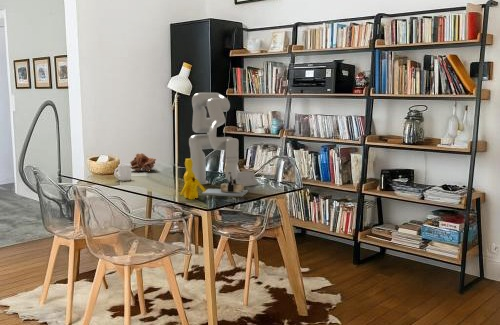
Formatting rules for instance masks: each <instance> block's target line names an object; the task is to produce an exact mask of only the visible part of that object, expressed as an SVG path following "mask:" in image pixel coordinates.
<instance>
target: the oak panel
mask: <svg viewBox="0 0 500 325" xmlns="http://www.w3.org/2000/svg"><path fill="white" fill-rule="evenodd" d="M220 189H221V192H228V182H227V183H226V182H224V183H221V184H220ZM243 190H244V187H243V184H233V192H239V193H241V192H242V191H243Z"/></svg>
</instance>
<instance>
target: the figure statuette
mask: <svg viewBox="0 0 500 325" xmlns="http://www.w3.org/2000/svg"><path fill="white" fill-rule="evenodd" d="M192 166H193V162H192V159H191V158H185V161H184V167H185V172H184V175H183V182H184V185H183V188H182V190H181V192H180V194H179V196H182V195H183V197H184V198H186V199H187V200H195V198H196V199H198V198H199V191H198V188H199V189H201V191H202V192H205V191H206V190H207V189H206V188H205V187H204V185H201V184H200V182H199V181H198V179H195V174H194V173H193V171H192Z"/></svg>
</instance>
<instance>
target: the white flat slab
mask: <svg viewBox="0 0 500 325" xmlns="http://www.w3.org/2000/svg"><path fill="white" fill-rule="evenodd" d="M205 190H206V191H205V192H203V191H202V192H201V195H202V196H222V197H223V196H225V197H244V196H245V195H246V194H247V193H249V192H248V191H249V190H247V189H243V191H242V192H241V193H239V192H221V188H207V189H205Z"/></svg>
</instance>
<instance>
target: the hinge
mask: <svg viewBox="0 0 500 325" xmlns="http://www.w3.org/2000/svg"><path fill="white" fill-rule="evenodd" d="M236 184H243V188H245V187H251V186H256V185H257V186H258V185H259V182H258V181H257V178H256V174H255V173H254V172H253V171H249V170H243V171H242V170H241V171H240V172H238V174H237V178H236Z"/></svg>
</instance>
